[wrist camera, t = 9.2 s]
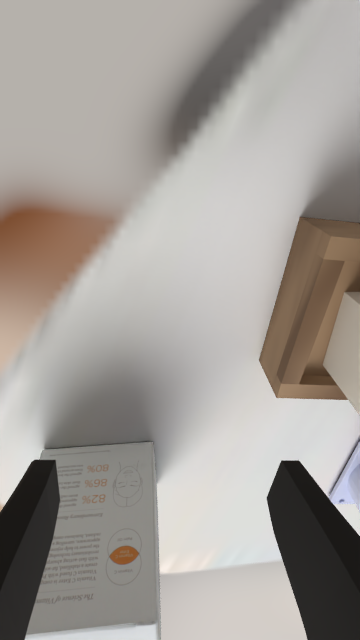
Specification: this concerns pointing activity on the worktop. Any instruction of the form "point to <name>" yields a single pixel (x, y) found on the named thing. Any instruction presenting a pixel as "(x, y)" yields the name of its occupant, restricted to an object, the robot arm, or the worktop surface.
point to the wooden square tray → (310, 308)
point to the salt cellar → (346, 349)
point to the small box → (102, 548)
